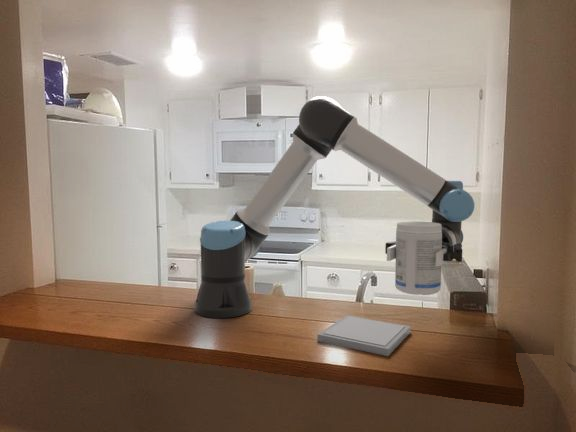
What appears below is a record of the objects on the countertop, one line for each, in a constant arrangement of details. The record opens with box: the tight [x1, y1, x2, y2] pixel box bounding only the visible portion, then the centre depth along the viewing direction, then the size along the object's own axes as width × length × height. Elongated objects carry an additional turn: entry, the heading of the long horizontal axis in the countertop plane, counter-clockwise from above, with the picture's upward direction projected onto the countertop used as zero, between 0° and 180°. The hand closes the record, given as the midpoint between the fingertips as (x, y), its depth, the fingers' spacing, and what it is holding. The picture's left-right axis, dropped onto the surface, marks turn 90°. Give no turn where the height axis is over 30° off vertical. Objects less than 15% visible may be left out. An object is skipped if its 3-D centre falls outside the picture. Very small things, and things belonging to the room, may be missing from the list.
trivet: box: [316, 314, 411, 357], centre depth 102 cm, size 16×16×2 cm
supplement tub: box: [394, 220, 442, 296], centre depth 98 cm, size 10×10×15 cm
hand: (412, 257), depth 94 cm, fingers closed on supplement tub, 9 cm apart
